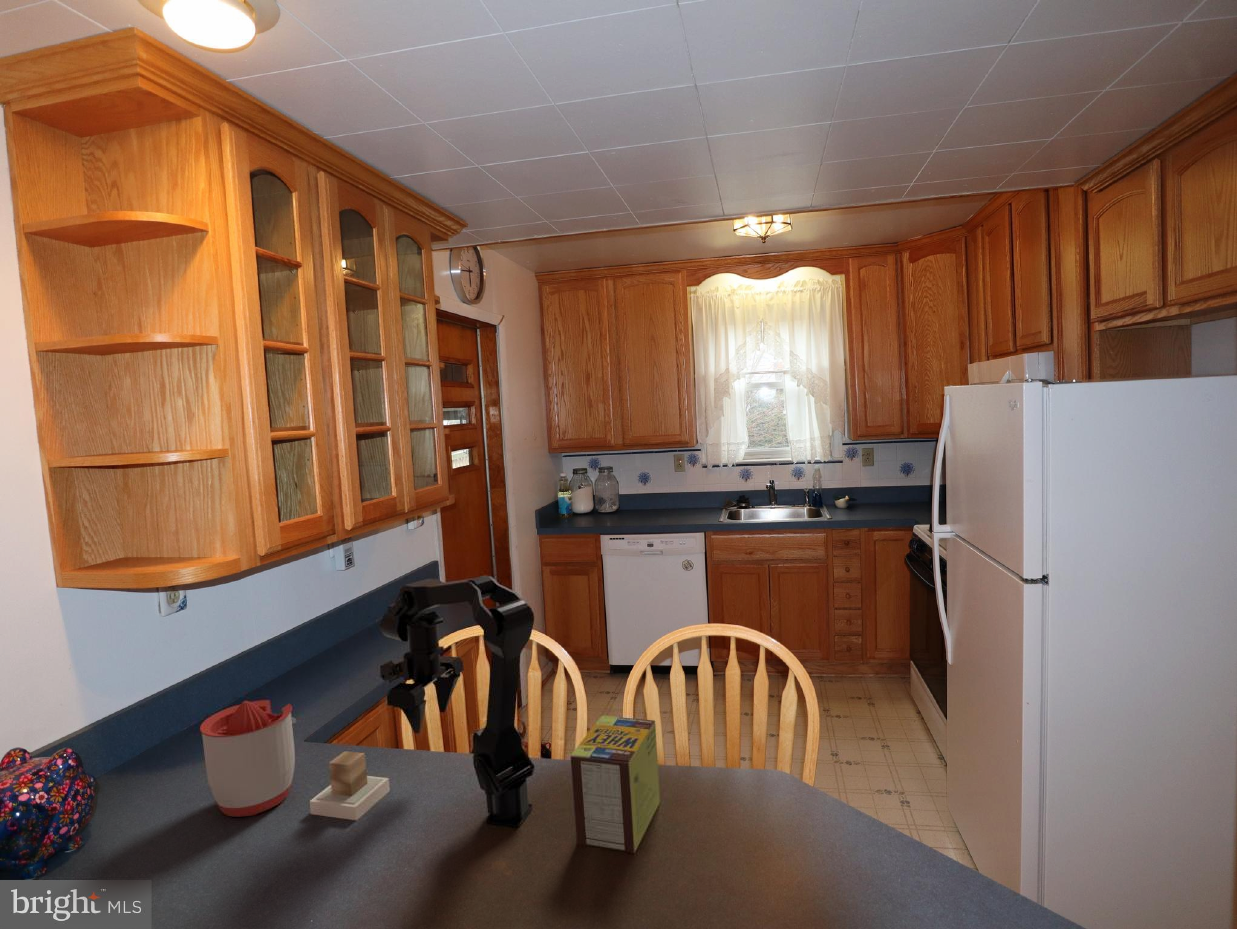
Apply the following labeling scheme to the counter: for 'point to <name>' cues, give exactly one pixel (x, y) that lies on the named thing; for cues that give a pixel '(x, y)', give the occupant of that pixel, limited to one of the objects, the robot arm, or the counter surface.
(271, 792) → the citrus juicer
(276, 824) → the counter surface
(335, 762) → the oak block
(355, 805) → the tile base
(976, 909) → the counter surface
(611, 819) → the protein box
